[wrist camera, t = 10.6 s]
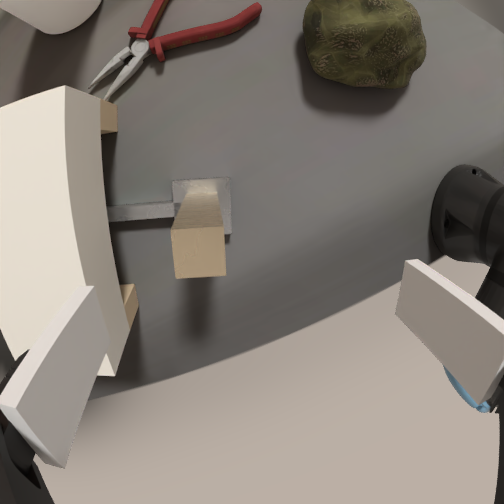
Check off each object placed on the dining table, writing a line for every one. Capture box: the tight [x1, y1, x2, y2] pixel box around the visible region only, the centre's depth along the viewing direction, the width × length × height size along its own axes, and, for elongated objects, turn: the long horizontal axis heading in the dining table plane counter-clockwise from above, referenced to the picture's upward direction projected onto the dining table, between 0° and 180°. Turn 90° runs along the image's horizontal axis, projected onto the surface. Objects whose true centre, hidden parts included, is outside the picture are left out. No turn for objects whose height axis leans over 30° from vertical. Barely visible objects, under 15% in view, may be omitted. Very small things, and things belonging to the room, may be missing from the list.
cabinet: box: [0, 85, 139, 376], centre depth 24 cm, size 14×24×13 cm, turn 1°
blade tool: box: [106, 177, 232, 279], centre depth 24 cm, size 26×10×15 cm, turn 91°
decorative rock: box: [303, 0, 426, 89], centre depth 23 cm, size 15×16×10 cm
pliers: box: [88, 0, 262, 101], centre depth 23 cm, size 11×20×3 cm, turn 133°
